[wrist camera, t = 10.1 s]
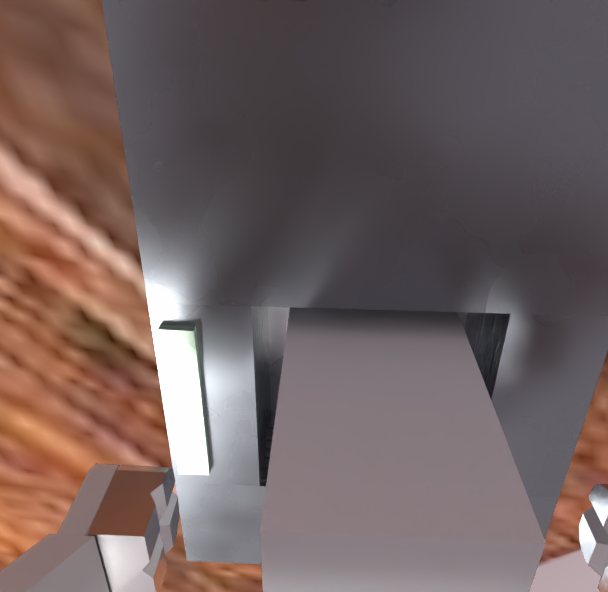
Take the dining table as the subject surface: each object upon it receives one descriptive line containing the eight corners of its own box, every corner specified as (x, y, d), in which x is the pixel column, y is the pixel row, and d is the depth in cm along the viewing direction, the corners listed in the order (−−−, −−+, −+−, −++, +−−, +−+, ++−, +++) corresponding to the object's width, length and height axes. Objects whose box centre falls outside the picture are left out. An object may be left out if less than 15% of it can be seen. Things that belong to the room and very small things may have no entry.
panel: (89, -752, 8) (-119, -1380, 4) (805, -783, 8) (1244, -1494, 4) (212, 459, 20) (185, 567, 16) (496, 470, 19) (534, 583, 16)
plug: (294, 274, 15) (260, 530, 8) (444, 278, 15) (545, 543, 8) (294, 411, 17) (268, 702, 10) (424, 416, 17) (487, 715, 10)
